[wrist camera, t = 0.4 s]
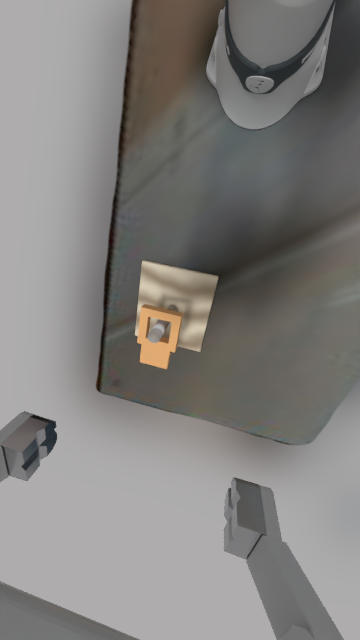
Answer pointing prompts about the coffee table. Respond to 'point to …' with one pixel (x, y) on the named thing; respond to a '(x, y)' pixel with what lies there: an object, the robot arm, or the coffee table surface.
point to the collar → (161, 350)
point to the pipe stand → (177, 301)
